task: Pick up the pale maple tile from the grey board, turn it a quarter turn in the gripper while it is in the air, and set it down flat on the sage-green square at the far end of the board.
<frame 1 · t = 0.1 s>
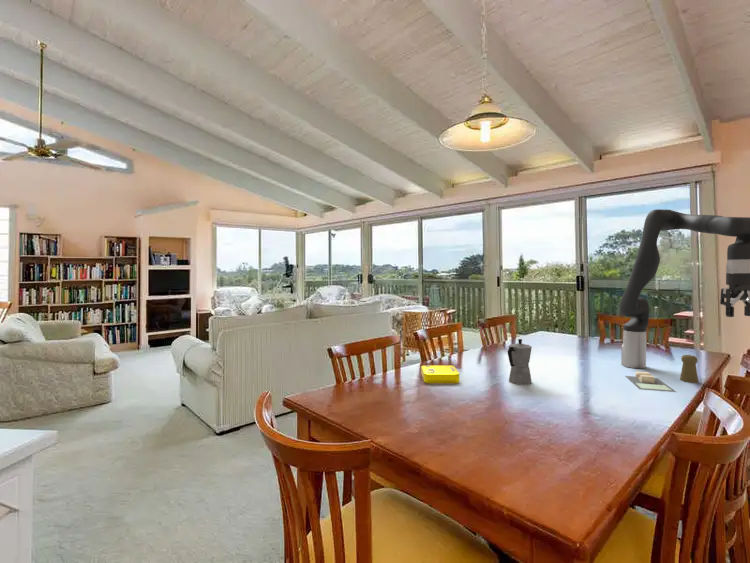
hand: (739, 316, 142), 29 cm above the table, tool pointing down, fingers open, 8 cm apart
coffeepot: (518, 382, 163), on the table
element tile: (439, 379, 170), on the table
grey board: (648, 384, 158), on the table
cork: (689, 382, 161), on the table
maple tile: (644, 380, 163), resting on grey board
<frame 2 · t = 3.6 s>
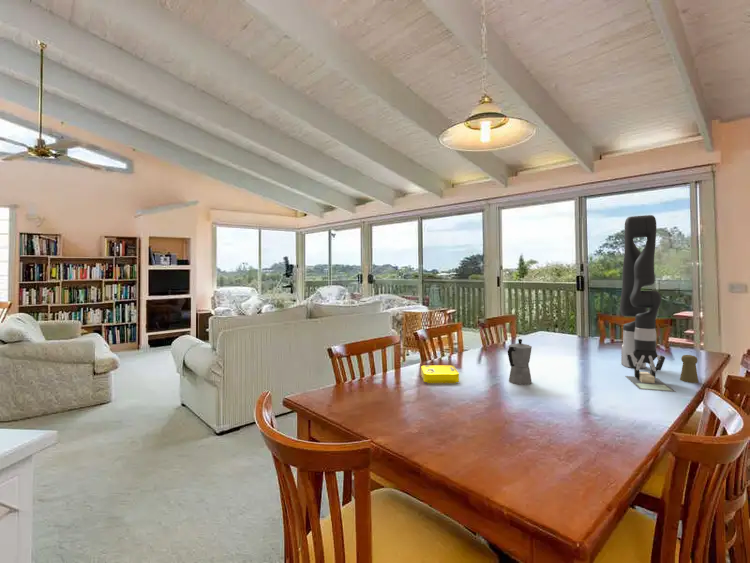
hand: (644, 379, 163), 1 cm above the table, tool pointing down, fingers closed on maple tile, 4 cm apart
maple tile: (644, 380, 163), resting on grey board, touching gripper
everything else where it was.
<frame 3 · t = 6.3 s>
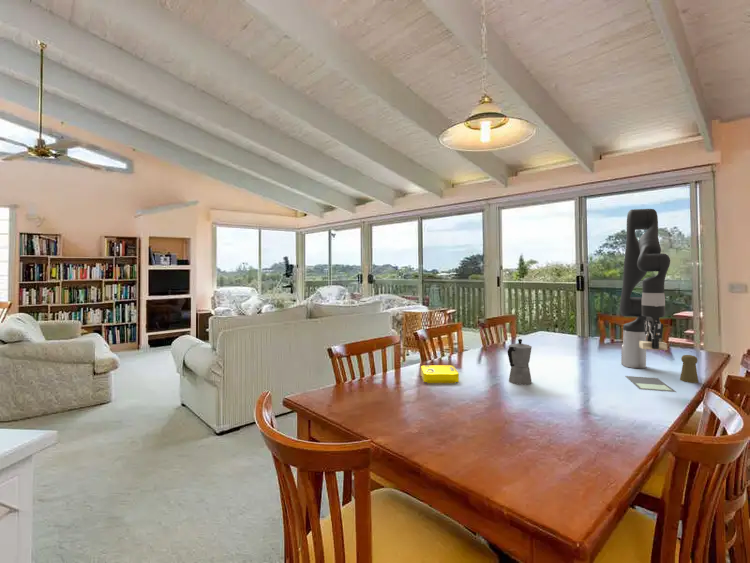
hand: (653, 347, 153), 16 cm above the table, tool pointing down, fingers closed on maple tile, 4 cm apart
maple tile: (652, 348, 153), point 15 cm above the table, touching gripper
everything else where it was.
when the fingers open (2 cm above the table, at t = 9.3 s): maple tile drops 1 cm, resting on grey board.
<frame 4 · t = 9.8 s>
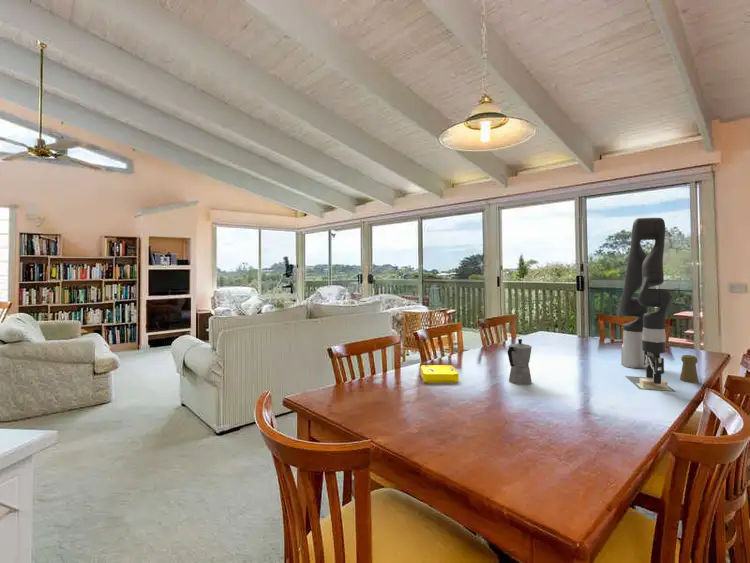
hand: (653, 380, 153), 3 cm above the table, tool pointing down, fingers open, 8 cm apart
maple tile: (653, 386, 153), resting on grey board
everything else where it was.
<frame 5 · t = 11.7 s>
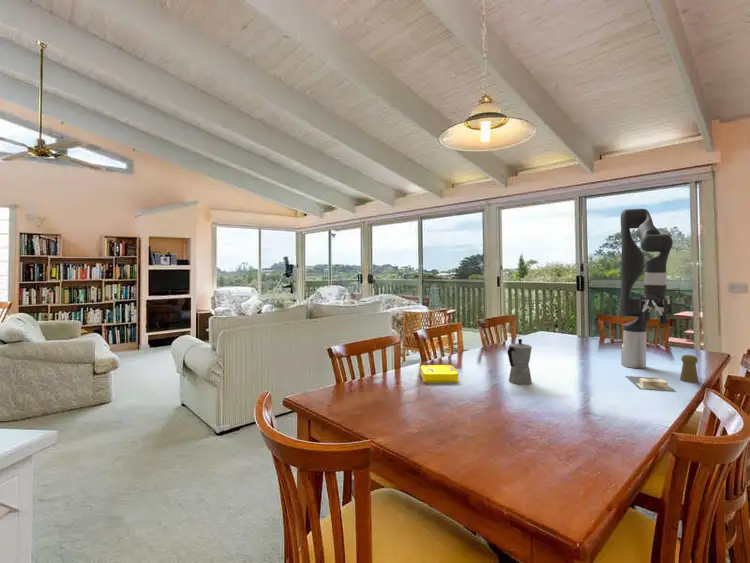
hand: (654, 322, 160), 25 cm above the table, tool pointing down, fingers open, 8 cm apart
nothing on the table moved.
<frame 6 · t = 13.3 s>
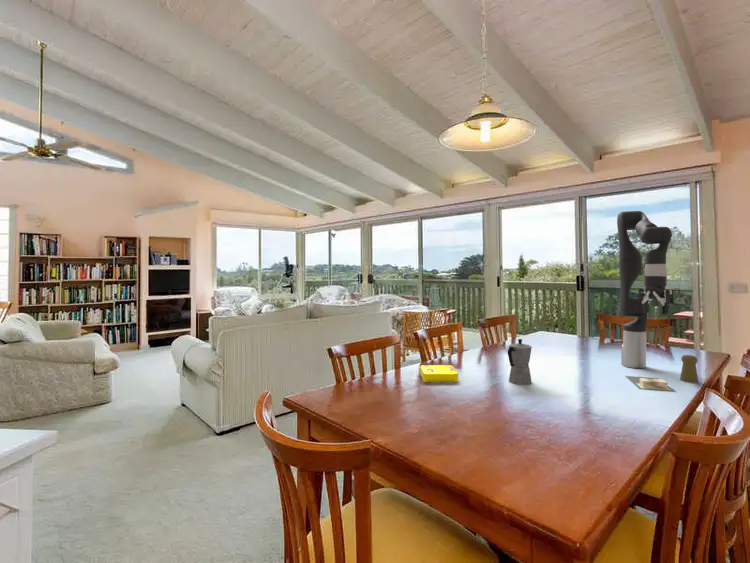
hand: (655, 313, 163), 28 cm above the table, tool pointing down, fingers open, 8 cm apart
nothing on the table moved.
at the end: maple tile 0.0 cm from the target spot on the grey board, point 0.5 cm above the grey board's base; maple tile tilted 0°; the gripper is holding nothing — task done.
